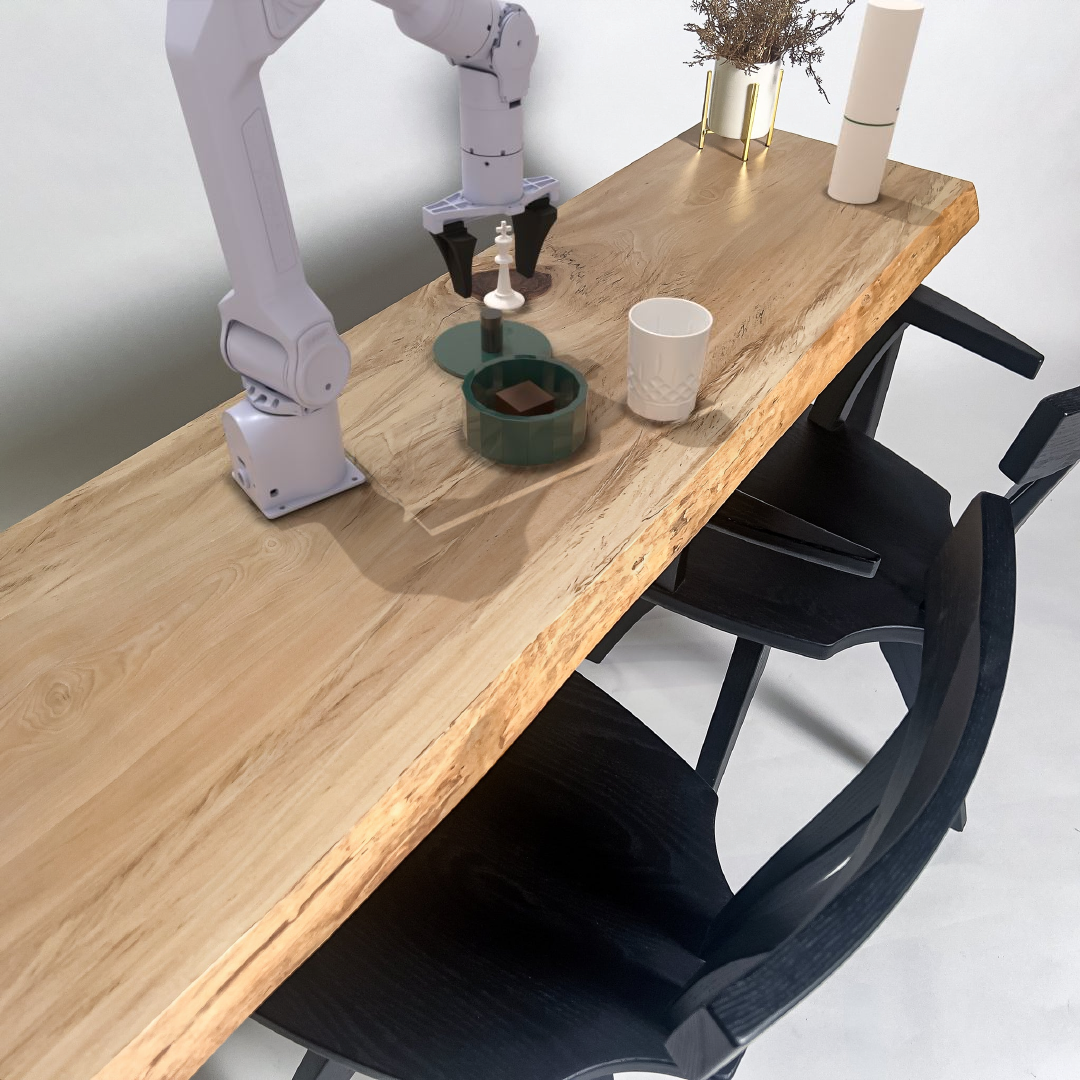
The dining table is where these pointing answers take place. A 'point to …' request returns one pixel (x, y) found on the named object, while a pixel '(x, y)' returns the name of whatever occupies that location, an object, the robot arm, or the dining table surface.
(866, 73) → the cylindrical container
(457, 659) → the dining table surface
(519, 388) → the block
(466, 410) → the crock
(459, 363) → the lid
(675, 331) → the white cup
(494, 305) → the chess piece
